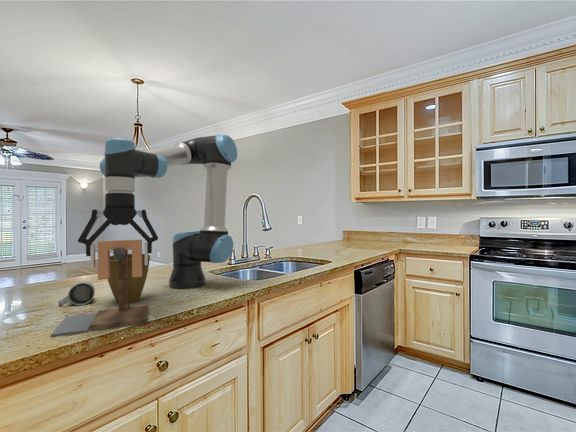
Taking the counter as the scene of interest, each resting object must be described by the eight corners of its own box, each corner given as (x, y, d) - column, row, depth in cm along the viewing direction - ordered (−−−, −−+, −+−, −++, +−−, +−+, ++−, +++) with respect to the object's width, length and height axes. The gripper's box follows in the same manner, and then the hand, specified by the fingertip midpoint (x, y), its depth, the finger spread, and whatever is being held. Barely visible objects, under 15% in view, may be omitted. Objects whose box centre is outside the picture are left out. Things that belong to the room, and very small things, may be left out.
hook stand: (148, 309, 101) (147, 242, 101) (147, 324, 88) (146, 247, 87) (98, 315, 96) (98, 244, 95) (89, 332, 82) (88, 250, 82)
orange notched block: (142, 274, 94) (141, 239, 94) (141, 276, 90) (141, 240, 90) (100, 277, 90) (99, 241, 90) (97, 279, 86) (97, 242, 86)
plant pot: (97, 301, 110) (96, 256, 110) (139, 293, 122) (139, 252, 122) (114, 309, 101) (113, 260, 101) (158, 299, 112) (157, 255, 112)
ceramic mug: (95, 297, 115) (94, 277, 115) (94, 303, 108) (94, 281, 108) (59, 302, 109) (58, 281, 109) (57, 309, 103) (56, 286, 102)
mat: (97, 314, 96) (97, 312, 96) (87, 332, 82) (87, 329, 82) (66, 318, 93) (66, 316, 93) (50, 336, 79) (50, 334, 79)
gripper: (166, 194, 98) (166, 261, 98) (71, 192, 88) (72, 267, 88) (166, 193, 91) (166, 265, 91) (64, 190, 81) (65, 271, 81)
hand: (120, 266), depth 90 cm, fingers open, 13 cm apart
